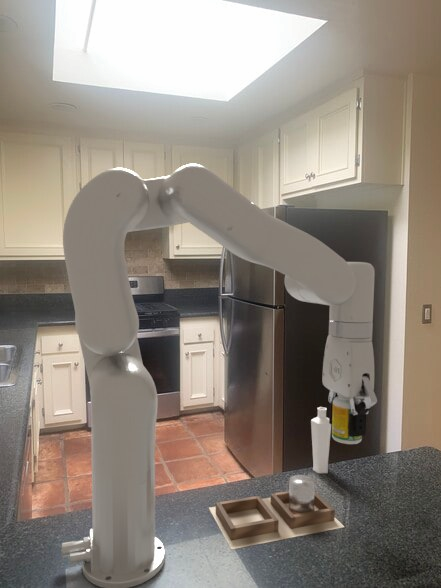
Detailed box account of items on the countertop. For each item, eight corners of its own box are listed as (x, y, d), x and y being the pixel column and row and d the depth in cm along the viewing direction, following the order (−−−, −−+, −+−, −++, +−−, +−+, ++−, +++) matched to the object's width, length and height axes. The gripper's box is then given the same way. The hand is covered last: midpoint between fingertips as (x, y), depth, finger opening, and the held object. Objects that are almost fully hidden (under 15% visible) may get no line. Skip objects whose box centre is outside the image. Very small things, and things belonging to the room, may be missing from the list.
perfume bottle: (323, 481, 97) (325, 413, 96) (307, 474, 100) (308, 408, 99) (335, 474, 100) (337, 409, 99) (319, 468, 103) (321, 404, 102)
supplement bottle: (345, 432, 85) (347, 382, 85) (368, 441, 81) (370, 388, 80) (325, 437, 82) (327, 385, 82) (348, 447, 78) (350, 392, 77)
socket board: (231, 555, 72) (231, 537, 71) (208, 512, 84) (208, 497, 84) (344, 532, 78) (345, 515, 78) (308, 496, 90) (308, 481, 90)
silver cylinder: (295, 521, 80) (296, 488, 79) (284, 507, 84) (284, 476, 84) (319, 516, 81) (319, 484, 81) (306, 503, 86) (307, 473, 85)
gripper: (308, 325, 87) (305, 416, 88) (361, 338, 71) (356, 450, 72) (341, 324, 90) (338, 413, 91) (400, 337, 73) (395, 445, 74)
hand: (346, 428), depth 81 cm, fingers closed on supplement bottle, 5 cm apart
